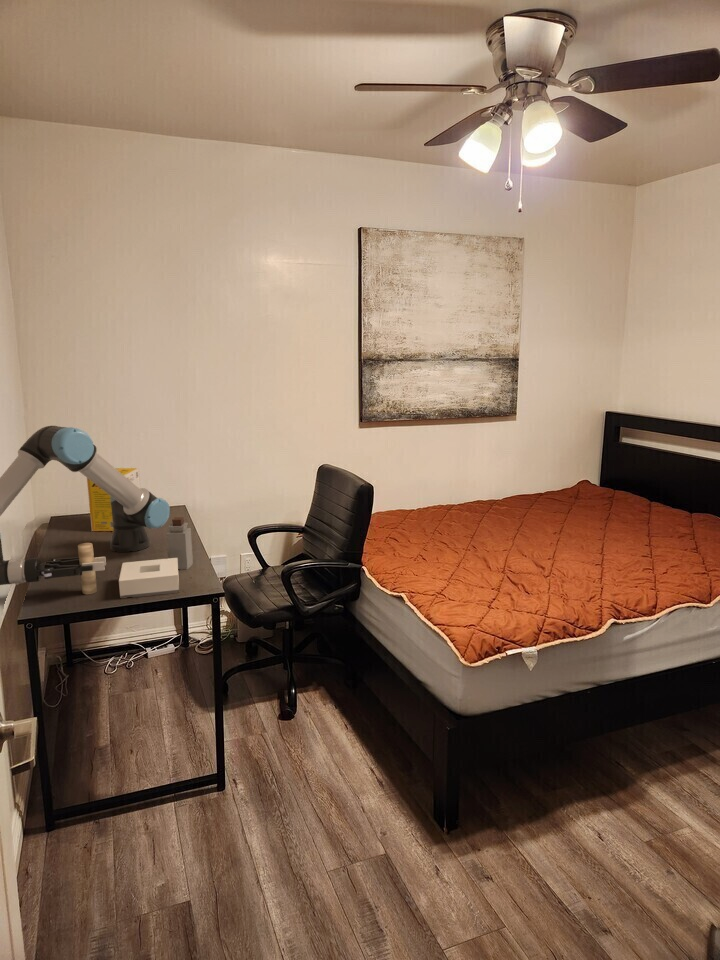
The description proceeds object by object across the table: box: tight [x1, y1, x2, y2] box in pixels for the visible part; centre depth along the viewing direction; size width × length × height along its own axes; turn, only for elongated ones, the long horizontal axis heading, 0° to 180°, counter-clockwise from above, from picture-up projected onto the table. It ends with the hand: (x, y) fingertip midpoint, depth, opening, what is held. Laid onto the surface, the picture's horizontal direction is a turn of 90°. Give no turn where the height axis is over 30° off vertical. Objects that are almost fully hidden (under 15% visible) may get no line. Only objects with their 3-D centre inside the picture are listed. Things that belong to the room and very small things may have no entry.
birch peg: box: [77, 542, 98, 595], centre depth 206 cm, size 4×4×16 cm
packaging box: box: [86, 467, 141, 532], centre depth 280 cm, size 16×16×25 cm
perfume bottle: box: [165, 516, 194, 571], centre depth 230 cm, size 7×7×18 cm
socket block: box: [118, 558, 180, 599], centre depth 212 cm, size 18×18×6 cm
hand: (104, 563), depth 207 cm, fingers closed on birch peg, 4 cm apart
